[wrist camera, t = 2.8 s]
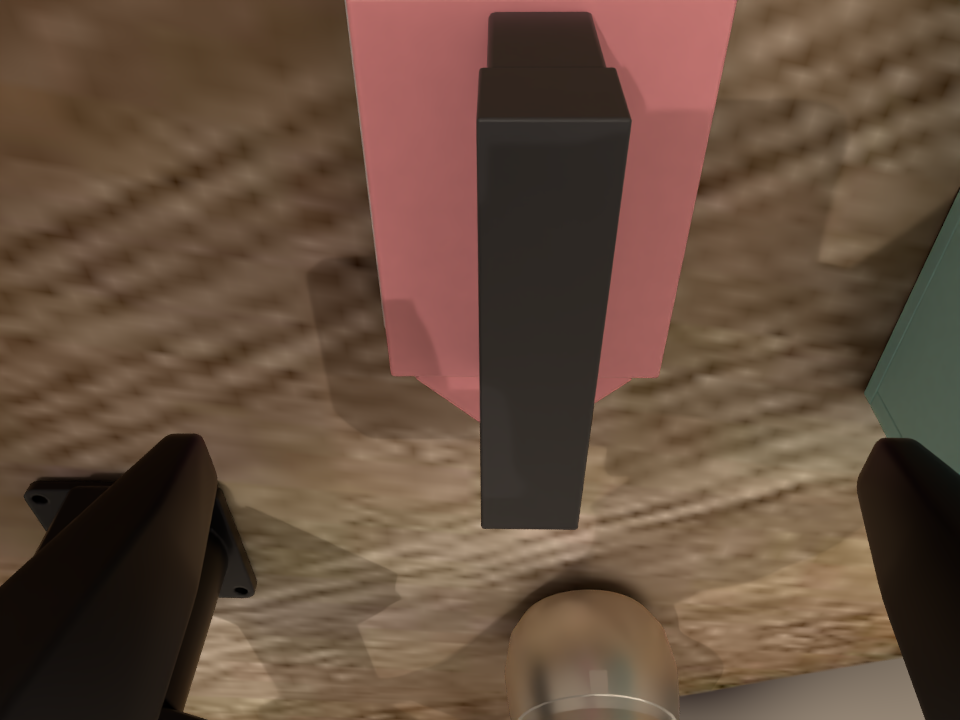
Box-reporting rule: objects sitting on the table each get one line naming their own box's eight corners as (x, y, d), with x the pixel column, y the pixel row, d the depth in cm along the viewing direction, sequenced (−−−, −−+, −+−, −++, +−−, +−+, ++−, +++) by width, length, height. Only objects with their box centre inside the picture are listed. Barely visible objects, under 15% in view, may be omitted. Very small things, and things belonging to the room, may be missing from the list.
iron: (344, -80, 14) (241, 76, 8) (725, -81, 14) (878, 74, 8) (399, 398, 22) (366, 633, 17) (636, 400, 22) (681, 638, 17)
